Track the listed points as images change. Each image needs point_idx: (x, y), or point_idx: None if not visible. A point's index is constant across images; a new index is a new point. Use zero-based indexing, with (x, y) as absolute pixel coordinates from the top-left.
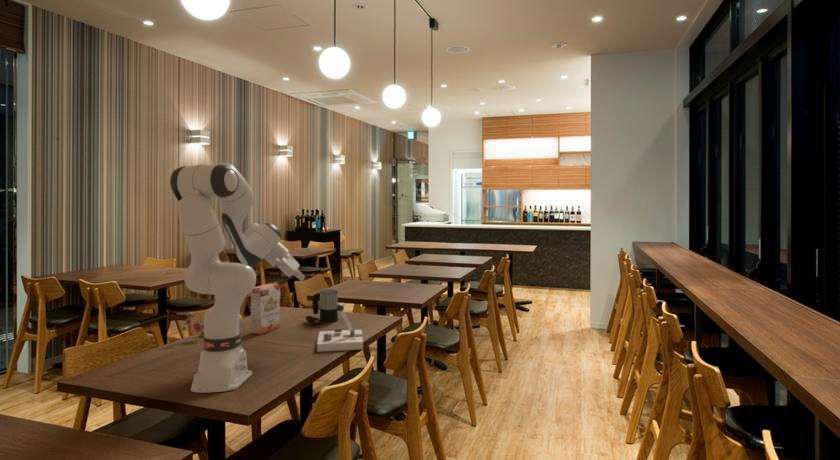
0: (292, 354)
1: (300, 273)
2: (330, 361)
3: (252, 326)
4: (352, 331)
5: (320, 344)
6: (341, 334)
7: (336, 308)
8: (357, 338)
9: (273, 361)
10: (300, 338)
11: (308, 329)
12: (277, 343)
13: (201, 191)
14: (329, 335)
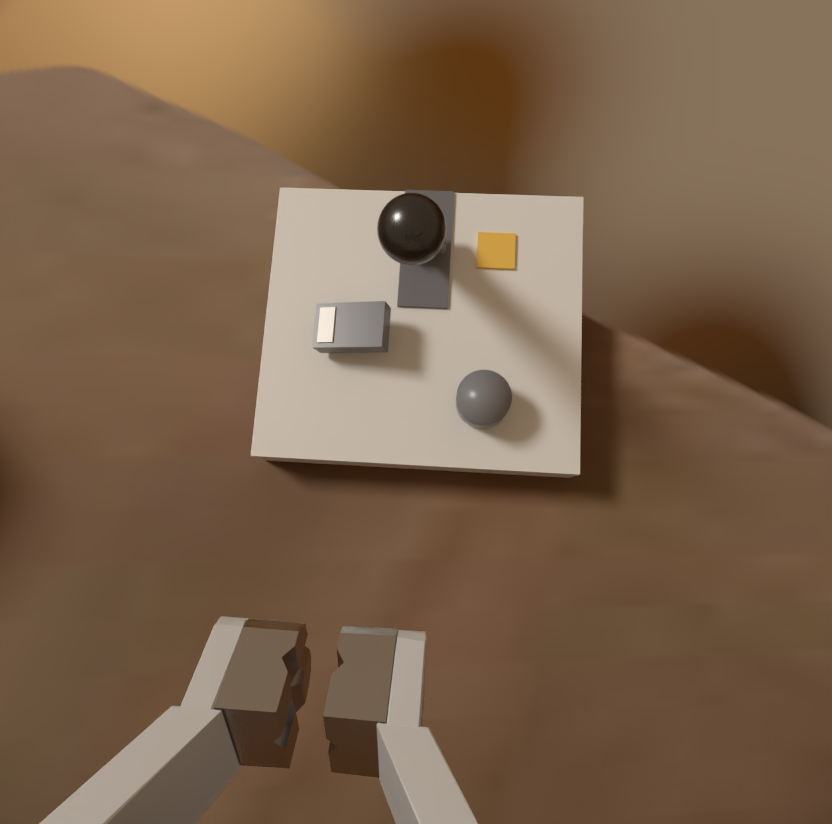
0: (599, 630)
1: (181, 766)
2: (780, 404)
3: None
4: (446, 233)
5: (579, 452)
6: None
7: (411, 263)
8: (496, 223)
9: (732, 747)
10: (230, 586)
11: (7, 534)
12: (315, 743)
13: None
14: (508, 385)
